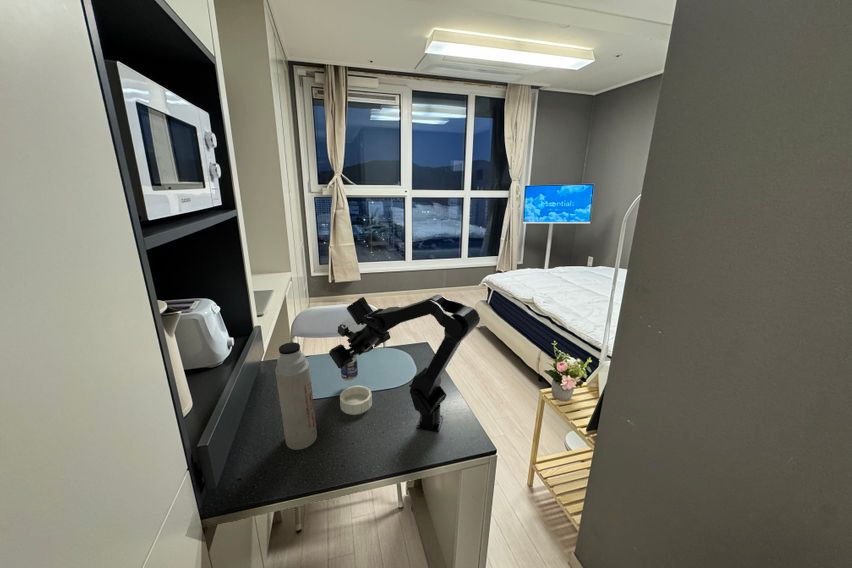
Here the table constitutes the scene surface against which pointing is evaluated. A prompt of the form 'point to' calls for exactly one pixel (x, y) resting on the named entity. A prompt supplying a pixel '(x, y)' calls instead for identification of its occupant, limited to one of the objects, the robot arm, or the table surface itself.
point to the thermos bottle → (295, 397)
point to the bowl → (355, 400)
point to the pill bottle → (350, 370)
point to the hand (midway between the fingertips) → (345, 357)
